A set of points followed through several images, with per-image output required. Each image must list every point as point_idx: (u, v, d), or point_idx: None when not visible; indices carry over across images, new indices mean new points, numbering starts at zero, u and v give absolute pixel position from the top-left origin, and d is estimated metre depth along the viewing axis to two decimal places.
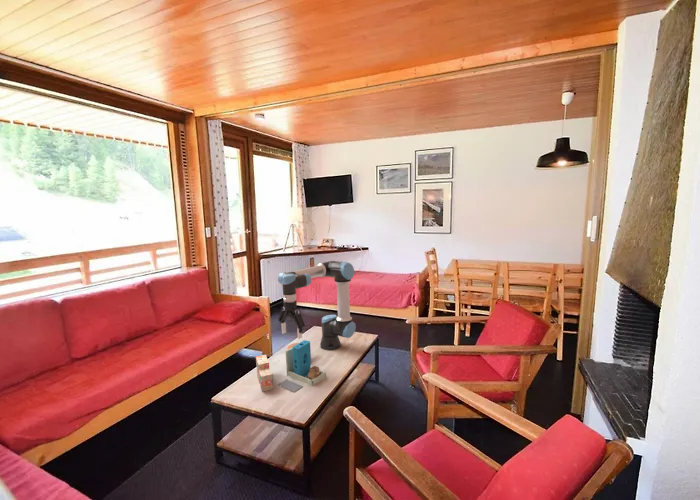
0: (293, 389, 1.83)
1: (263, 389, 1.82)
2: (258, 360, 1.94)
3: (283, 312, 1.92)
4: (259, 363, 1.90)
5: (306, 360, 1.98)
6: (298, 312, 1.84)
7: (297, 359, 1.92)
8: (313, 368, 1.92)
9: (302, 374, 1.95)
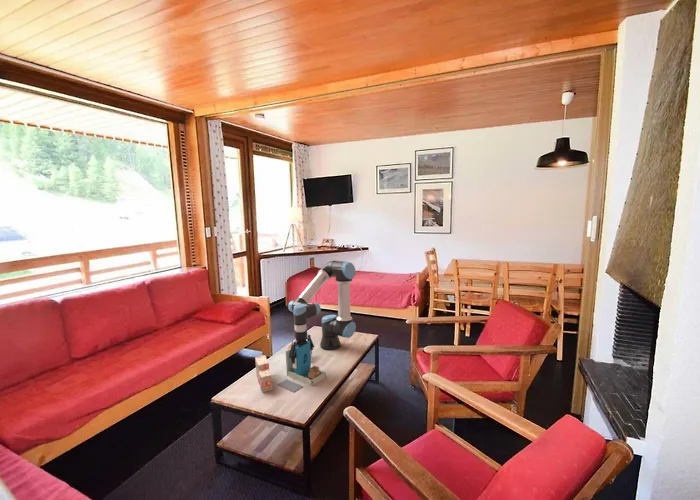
0: (293, 389, 1.83)
1: (263, 390, 1.82)
2: (258, 361, 1.93)
3: (308, 339, 2.01)
4: (259, 364, 1.90)
5: (306, 360, 1.98)
6: (292, 343, 1.91)
7: (297, 359, 1.92)
8: (313, 368, 1.92)
9: (302, 374, 1.94)
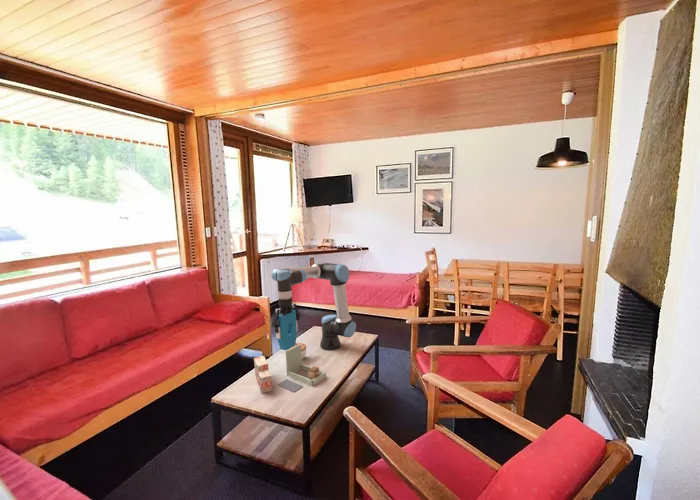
0: (293, 389, 1.83)
1: (263, 391, 1.81)
2: (257, 361, 1.92)
3: (294, 309, 1.86)
4: (258, 364, 1.89)
5: (291, 330, 1.84)
6: (276, 311, 1.76)
7: (281, 328, 1.77)
8: (313, 368, 1.92)
9: (286, 345, 1.80)
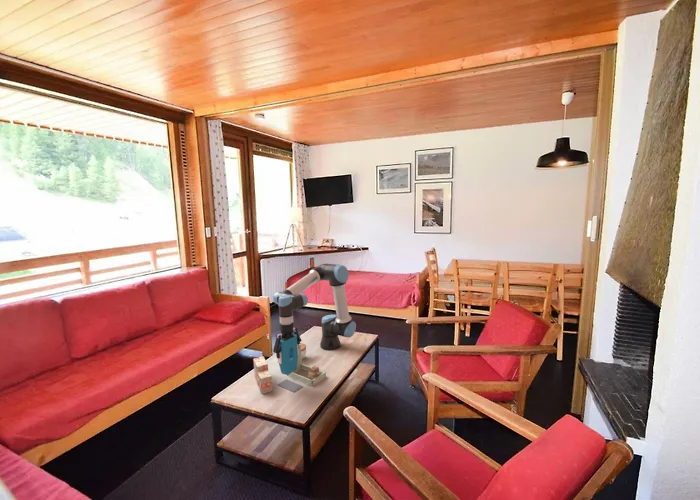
0: (293, 389, 1.83)
1: (263, 391, 1.80)
2: (256, 362, 1.92)
3: (295, 333, 1.88)
4: (258, 365, 1.88)
5: (292, 355, 1.85)
6: (277, 336, 1.78)
7: (282, 353, 1.79)
8: (313, 368, 1.92)
9: (288, 370, 1.81)
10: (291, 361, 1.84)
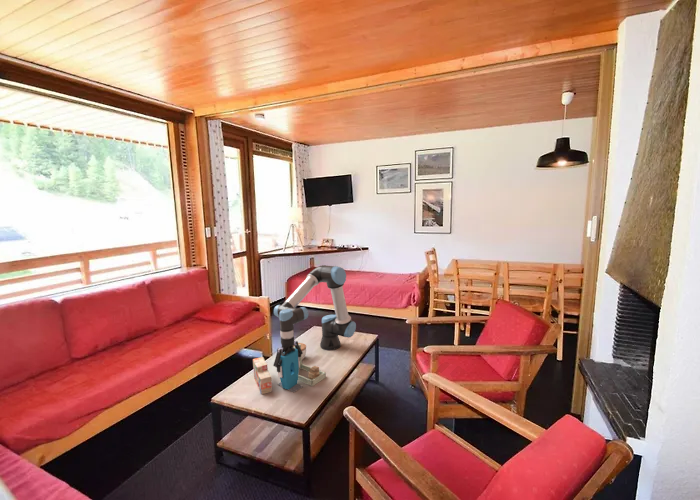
0: (293, 389, 1.83)
1: (263, 392, 1.80)
2: (256, 362, 1.91)
3: (296, 346, 1.89)
4: (257, 365, 1.87)
5: (293, 369, 1.87)
6: (278, 350, 1.79)
7: (283, 368, 1.80)
8: (313, 368, 1.92)
9: (289, 384, 1.83)
10: (292, 375, 1.85)
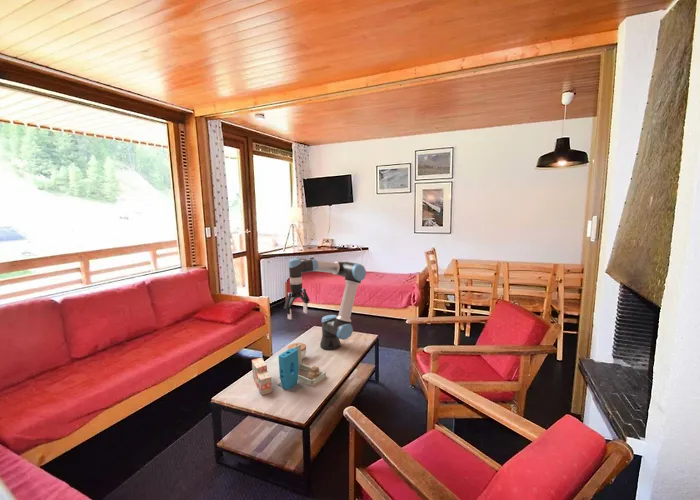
0: (293, 389, 1.83)
1: (262, 392, 1.79)
2: (255, 363, 1.90)
3: (303, 293, 2.08)
4: (257, 366, 1.86)
5: (293, 369, 1.87)
6: (288, 294, 1.97)
7: (283, 368, 1.80)
8: (313, 368, 1.92)
9: (289, 384, 1.83)
10: (292, 375, 1.85)
